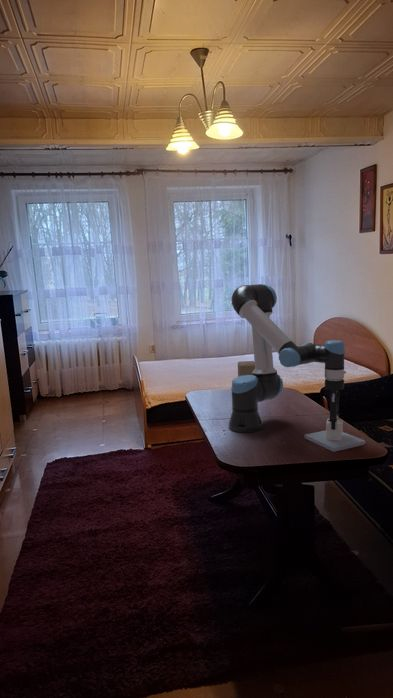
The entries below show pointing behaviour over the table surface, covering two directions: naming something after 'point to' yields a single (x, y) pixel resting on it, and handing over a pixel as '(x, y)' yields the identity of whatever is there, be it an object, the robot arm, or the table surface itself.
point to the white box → (339, 430)
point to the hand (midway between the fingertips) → (334, 433)
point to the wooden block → (245, 368)
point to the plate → (334, 441)
